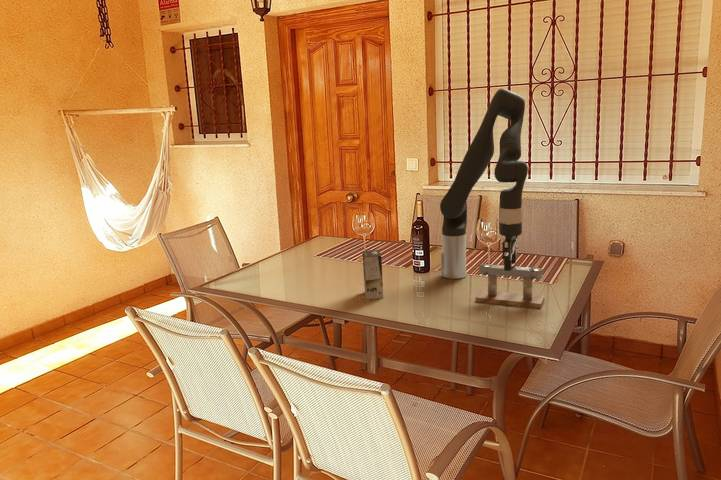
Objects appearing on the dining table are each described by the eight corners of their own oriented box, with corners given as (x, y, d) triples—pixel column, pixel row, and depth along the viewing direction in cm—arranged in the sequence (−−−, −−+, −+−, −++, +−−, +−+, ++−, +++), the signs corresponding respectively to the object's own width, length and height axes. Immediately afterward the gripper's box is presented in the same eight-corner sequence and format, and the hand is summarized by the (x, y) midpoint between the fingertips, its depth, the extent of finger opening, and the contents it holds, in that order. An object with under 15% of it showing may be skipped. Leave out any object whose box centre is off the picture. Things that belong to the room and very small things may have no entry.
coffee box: (383, 298, 212) (382, 255, 208) (366, 299, 211) (364, 257, 207) (380, 290, 221) (378, 249, 217) (363, 291, 220) (361, 250, 216)
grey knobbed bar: (477, 273, 203) (477, 267, 202) (480, 270, 207) (480, 263, 206) (541, 279, 194) (541, 272, 193) (543, 275, 198) (543, 268, 197)
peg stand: (475, 301, 204) (475, 275, 202) (480, 293, 211) (480, 268, 209) (540, 308, 195) (541, 281, 192) (544, 300, 202) (544, 273, 199)
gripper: (503, 215, 204) (503, 260, 208) (494, 224, 191) (494, 272, 195) (525, 216, 201) (524, 261, 204) (518, 225, 188) (517, 273, 192)
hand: (510, 266), depth 200 cm, fingers open, 8 cm apart
